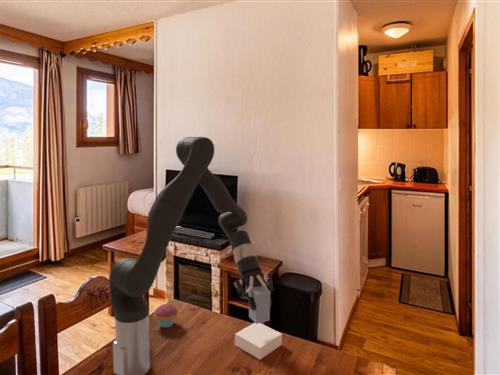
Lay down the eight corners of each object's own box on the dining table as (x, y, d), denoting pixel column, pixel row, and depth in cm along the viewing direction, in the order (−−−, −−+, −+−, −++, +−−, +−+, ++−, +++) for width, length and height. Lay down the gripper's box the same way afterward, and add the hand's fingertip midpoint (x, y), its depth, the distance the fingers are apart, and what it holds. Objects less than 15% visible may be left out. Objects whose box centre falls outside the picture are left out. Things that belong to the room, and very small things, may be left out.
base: (259, 359, 109) (260, 347, 108) (234, 344, 116) (235, 333, 115) (281, 344, 117) (281, 333, 116) (256, 331, 124) (256, 321, 123)
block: (256, 324, 112) (256, 294, 110) (248, 316, 116) (249, 288, 115) (269, 320, 114) (270, 291, 112) (261, 313, 118) (262, 285, 117)
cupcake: (164, 316, 133) (164, 286, 131) (183, 321, 129) (183, 291, 127) (149, 326, 125) (148, 295, 123) (168, 333, 122) (167, 300, 120)
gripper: (230, 258, 115) (246, 308, 107) (268, 252, 122) (286, 299, 113) (224, 267, 121) (238, 316, 112) (260, 261, 127) (276, 307, 119)
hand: (262, 307), depth 113 cm, fingers closed on block, 5 cm apart
